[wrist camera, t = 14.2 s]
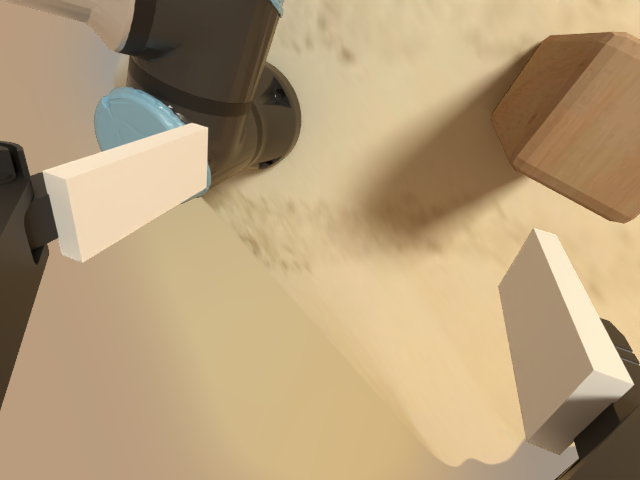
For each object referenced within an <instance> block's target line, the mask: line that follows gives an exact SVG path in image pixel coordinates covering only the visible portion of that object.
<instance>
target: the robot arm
mask: <svg viewBox="0 0 640 480" xmlns="http://www.w3.org/2000/svg"><path fill="white" fill-rule="evenodd" d="M2 1H6V2H10V3H13V4H17V5H21V6H25V7H29V8H32V9H36V10H40V11H44V12H48V13H51V14H55V15H59V16H62V17H66V18H70V19H74V20H77V21H81V22H85V23H86V24H87V25H89V26H90V27H91V28H92V29H93V30H94V31H95V32H96V33H97V35H98V36H99V37H100V38H101V39H102V41H103V42H104V43H105V44H106V45H107V46H108V48H109V49H110V50H113V51H115V52H119V53H122V54H127V55H130V58H129V67H128V76H127V85H126V87H119V88H115V89H113V90H112V91H111V92H110V93H109V94H108V95H107V96H104V97H103V98H102V99H101V100H100V101H99V103H98V105H97V107H96V110H95V116H94V126H95V133H96V138H97V141H98V144H99V146H100V149H101V151H102V152H100V153H97V154H94V155H91V156H87V157H84V158H81V159H78V160H75V161H72V162H69V163H66V164H63V165H60V166H57V167H53V168H51V169H47V170H44V171H42V172H41V173H38V174H35V175H32V176H30V174H29V171H28V166H27V163H26V159H25V155H24V151H23V148H22V147H21V146H20V145H18V144H15V143H11V142H4V141H0V409H1V406H2V403H3V400H4V396H5V393H6V390H7V387H8V384H9V381H10V377H11V374H12V371H13V368H14V365H15V361H16V358H17V355H18V352H19V349H20V346H21V342H22V339H23V336H24V332H25V330H26V326H27V323H28V320H29V317H30V313H31V310H32V307H33V304H34V301H35V298H36V294H37V291H38V288H39V285H40V282H41V278H42V275H43V272H44V269H45V266H46V262H47V259H48V256H49V249H48V245H47V243H49V242H51V241H53V240H55V239H57V238H58V241H59V245H60V250H61V254H62V255H64V256H67V257H69V258H72V259H74V260H77V261H79V262H82V263H83V262H84V261H86V260H88V259H89V258H91V257H93V256H94V255H96V254H97V253H99V252H101V251H102V250H104V249H106V248H107V247H109V246H111V245H112V244H114V243H116V242H117V241H119V240H120V239H122V238H124V237H126V236H127V235H129V234H131V233H132V232H134V231H135V230H137V229H139V228H141V227H142V226H144V225H145V224H147V223H149V222H150V221H152V220H154V219H155V218H157V217H159V216H160V215H162V214H164V213H165V212H167V211H169V210H170V209H172V208H174V207H175V206H177V205H179V204H182V203H185V202H187V201H189V200H191V199H193V198H198V197H201V196H203V195H204V194H205V193H206V191H208V190H209V189H211V188H213V187H214V186H216V185H218V184H219V183H221V182H223V181H224V180H226V179H227V178H229V177H231V176H232V175H234V174H236V173H237V172H239V171H241V170H242V169H247V170H258V169H264V168H268V167H270V166H273V165H275V164H276V163H278V162H279V161H281V160H282V159H284V158H285V157H286V156H287V155H288V154H289V153H290V152H291V151H292V149H293V148H294V146H295V144H296V142H297V140H298V137H299V133H300V128H301V111H300V106H299V102H298V99H297V96H296V93H295V91H294V89H293V87H292V86H291V84H290V82H289V81H288V80H287V78H286V77H285V76H284V75H283V74H282V73H281V72H280V71H279V70H278V69H277V68H275V67H274V66H273V65H271V64H269V63H268V62H266V59H267V56H268V52H269V49H270V46H271V43H272V40H273V36H274V33H275V30H276V27H277V24H278V20H279V17H280V18H282V15H283V8H282V6H283V3H284V0H2ZM498 287H499V293H500V298H501V304H502V309H503V315H504V320H505V326H506V331H507V337H508V342H509V348H510V353H511V359H512V364H513V370H514V375H515V381H516V386H517V392H518V397H519V403H520V408H521V414H522V419H523V425H524V430H525V436H526V441H527V442H528V443H531V444H533V445H536V446H538V447H541V448H543V449H546V450H548V451H551V452H553V453H556V454H558V455H560V454H561V453H562V452H563V451H564V450H565V449H566V448H567V447H568V446H570V445H571V444H572V443H573V442H575V446H576V449H577V452H578V456H579V459H578V460H577V461H576V462H574V463H573V464H572V465H571V466H570V467H569V468H568V469H566V470H565V471H564V472H563V473H562V474H561V475H559V477H557V478H556V479H555V480H640V366H639V364H640V363H639V361H638V359H637V358H636V356H635V354H633V353H632V349H631V347H630V345H629V344H628V342H627V340H626V338H625V337H624V336H623V335H622V334H621V333H620V332H619V331H618V330H617V328H616V327H615V326H614V325H613V324H612V323H611V322H610V321H607V320H604V319H601V318H599V316H598V314H597V312H596V310H595V308H594V307H593V305H592V303H591V301H590V299H589V297H588V295H587V293H586V291H585V289H584V287H583V286H582V284H581V282H580V280H579V278H578V276H577V274H576V272H575V270H574V268H573V266H572V265H571V263H570V261H569V259H568V257H567V255H566V253H565V251H564V249H563V247H562V245H561V244H560V242H559V240H558V238H557V236H556V235H555V234H552V233H549V232H545V231H542V230H539V229H536V228H533V230H532V231H531V233H530V235H529V236H528V238H527V240H526V241H525V243H524V245H523V246H522V248H521V250H520V251H519V253H518V255H517V256H516V258H515V260H514V261H513V263H512V265H511V266H510V268H509V270H508V271H507V273H506V275H505V276H504V278H503V280H502V281H501V283H500V285H499V286H498Z"/></svg>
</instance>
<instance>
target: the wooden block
mask: <svg viewBox="0 0 640 480" xmlns="http://www.w3.org/2000/svg"><path fill="white" fill-rule="evenodd" d="M491 120H492V123H493V125H494V127H495V130H496V132H497V135H498V137H499V139H500V142H501V144H502V146H503V149H504V151H505V153H506V156H507V158H508V160H509V162H510V164H511V165H512V166H513V168H514V169H515V170H516V171H518V172H520V173H522V174H524V175H526V176H528V177H529V178H531V179H533V180H535V181H537V182H539V183H541V184H542V185H544V186H546V187H548V188H550V189H552V190H553V191H555V192H557V193H559V194H561V195H563V196H565V197H566V198H568V199H570V200H572V201H574V202H576V203H578V204H579V205H581V206H583V207H585V208H587V209H589V210H590V211H592V212H594V213H596V214H598V215H600V216H602V217H603V218H605V219H607V220H609V221H614V222H620V223H626V222H629V221H631V220H633V219H634V218H635V217H636V216H637V215H639V214H640V39H638V38H636V37H634V36H632V35H630V34H628V33H626V32H604V33H586V34H569V35H551V36H549V37H548V38H546V39H545V40H544V41H542V43H541V44H540V46H539V47H538V49H537V50H536V51H535V53H534V54H533V56H532V57H531V59H530V60H529V61H528V63H527V64H526V66H525V67H524V69H523V70H522V72H521V73H520V74H519V76H518V77H517V79H516V80H515V82H514V83H513V84H512V86H511V87H510V89H509V90H508V92H507V93H506V94H505V96H504V97H503V99H502V100H501V102H500V103H499V104H498V106H497V107H496V109H495V110H494V112H493V114H492V118H491Z"/></svg>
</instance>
